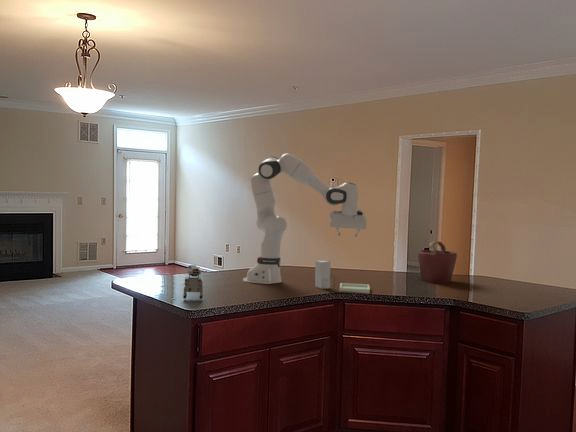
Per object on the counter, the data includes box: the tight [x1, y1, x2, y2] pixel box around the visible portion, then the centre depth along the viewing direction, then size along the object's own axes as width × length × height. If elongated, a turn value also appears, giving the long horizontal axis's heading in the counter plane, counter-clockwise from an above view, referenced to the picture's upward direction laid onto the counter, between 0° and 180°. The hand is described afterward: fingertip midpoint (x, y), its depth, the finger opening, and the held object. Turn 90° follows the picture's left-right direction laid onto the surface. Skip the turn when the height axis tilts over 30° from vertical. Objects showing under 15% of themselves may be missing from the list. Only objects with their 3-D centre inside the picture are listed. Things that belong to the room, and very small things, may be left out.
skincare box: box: [314, 260, 331, 290], centre depth 293 cm, size 8×6×15 cm
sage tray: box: [338, 282, 371, 295], centre depth 288 cm, size 16×16×2 cm
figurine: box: [182, 264, 204, 299], centre depth 254 cm, size 9×12×15 cm
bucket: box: [417, 240, 458, 285], centre depth 327 cm, size 24×22×25 cm
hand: (347, 236), depth 295 cm, fingers open, 8 cm apart
